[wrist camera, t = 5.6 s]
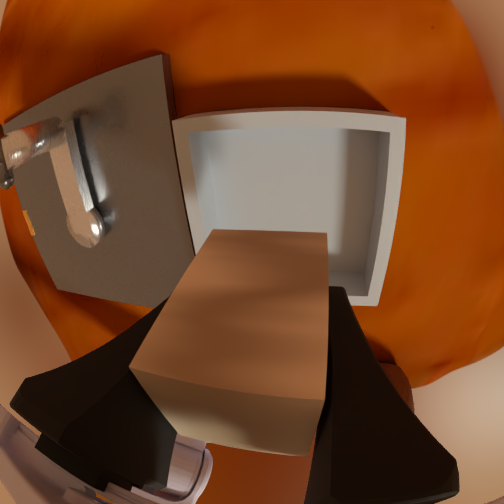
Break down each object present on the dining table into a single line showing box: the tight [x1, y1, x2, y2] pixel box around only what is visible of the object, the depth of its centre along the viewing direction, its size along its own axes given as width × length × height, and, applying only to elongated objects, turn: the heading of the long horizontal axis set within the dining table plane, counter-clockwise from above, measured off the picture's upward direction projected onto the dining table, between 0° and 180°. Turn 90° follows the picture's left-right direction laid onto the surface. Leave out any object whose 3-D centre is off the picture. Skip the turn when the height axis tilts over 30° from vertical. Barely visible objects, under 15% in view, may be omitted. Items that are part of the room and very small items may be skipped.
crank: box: [0, 116, 105, 248], centre depth 15 cm, size 12×4×7 cm, turn 5°
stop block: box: [129, 229, 329, 456], centre depth 8 cm, size 4×4×6 cm
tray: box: [172, 107, 406, 306], centre depth 16 cm, size 12×12×3 cm
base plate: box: [2, 54, 196, 308], centre depth 21 cm, size 20×20×1 cm
